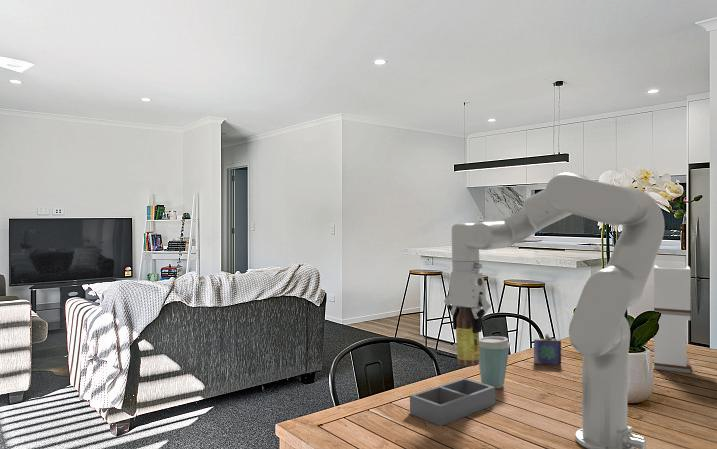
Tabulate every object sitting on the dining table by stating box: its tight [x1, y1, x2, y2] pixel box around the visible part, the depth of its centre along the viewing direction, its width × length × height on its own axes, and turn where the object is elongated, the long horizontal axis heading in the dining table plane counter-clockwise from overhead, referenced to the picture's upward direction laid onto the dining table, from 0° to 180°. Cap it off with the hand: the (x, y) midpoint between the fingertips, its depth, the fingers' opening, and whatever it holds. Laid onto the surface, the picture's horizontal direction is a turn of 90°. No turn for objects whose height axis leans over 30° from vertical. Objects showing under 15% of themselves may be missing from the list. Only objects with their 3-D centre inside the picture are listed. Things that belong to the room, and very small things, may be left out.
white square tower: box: [653, 264, 692, 374], centre depth 182 cm, size 11×11×35 cm
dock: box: [409, 377, 496, 427], centre depth 143 cm, size 11×23×5 cm, turn 130°
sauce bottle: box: [455, 307, 480, 367], centre depth 146 cm, size 7×6×20 cm
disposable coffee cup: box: [478, 335, 511, 389], centre depth 163 cm, size 11×11×15 cm
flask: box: [533, 333, 562, 367], centre depth 186 cm, size 9×3×11 cm, turn 76°
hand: (467, 329), depth 146 cm, fingers closed on sauce bottle, 6 cm apart
